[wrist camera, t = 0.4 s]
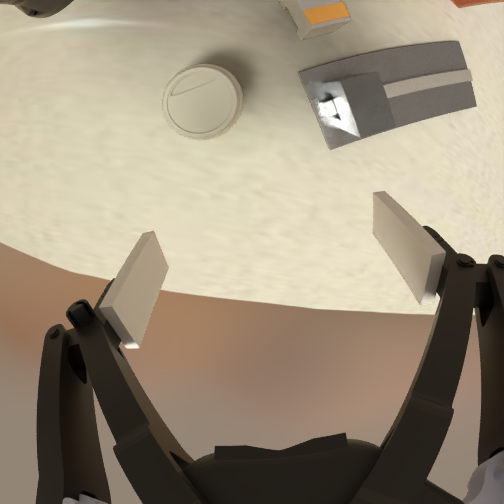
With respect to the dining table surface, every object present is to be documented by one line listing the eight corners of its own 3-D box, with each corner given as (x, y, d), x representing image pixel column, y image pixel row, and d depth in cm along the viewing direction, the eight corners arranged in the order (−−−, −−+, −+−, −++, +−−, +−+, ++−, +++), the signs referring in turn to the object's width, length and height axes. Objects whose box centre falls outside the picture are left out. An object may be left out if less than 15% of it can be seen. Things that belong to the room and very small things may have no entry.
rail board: (328, 148, 38) (348, 164, 30) (297, 73, 32) (310, 67, 24) (472, 105, 31) (507, 114, 24) (454, 41, 26) (489, 40, 18)
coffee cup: (252, 78, 33) (253, 71, 22) (236, 134, 37) (230, 151, 27) (192, 66, 31) (168, 56, 21) (178, 122, 36) (150, 135, 26)
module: (300, 40, 29) (313, 28, 22) (279, 1, 26) (286, -19, 19) (332, 32, 28) (352, 19, 21) (311, -7, 25) (325, -27, 18)
